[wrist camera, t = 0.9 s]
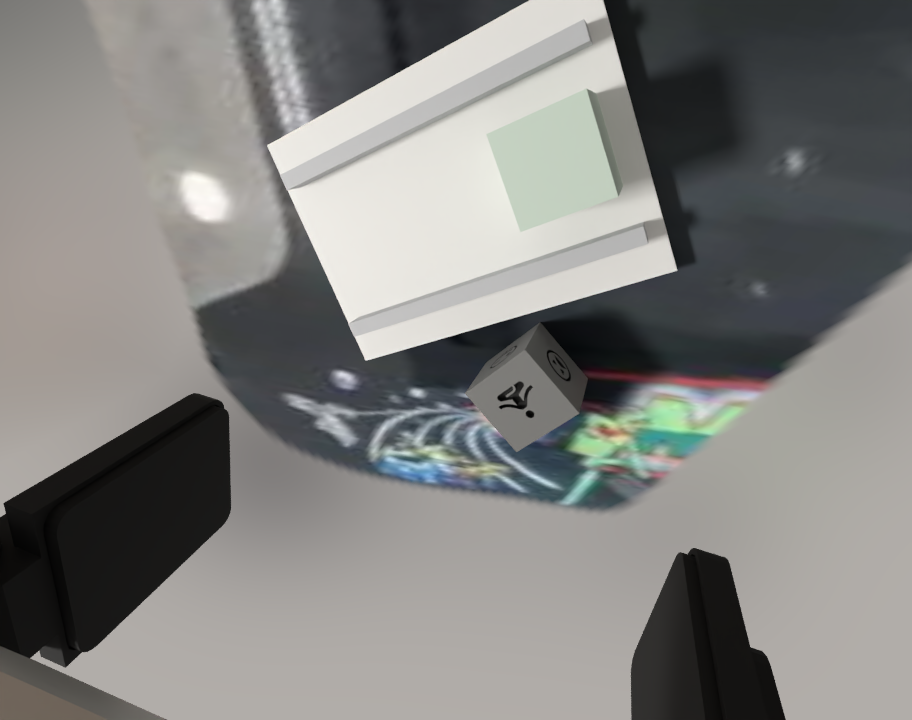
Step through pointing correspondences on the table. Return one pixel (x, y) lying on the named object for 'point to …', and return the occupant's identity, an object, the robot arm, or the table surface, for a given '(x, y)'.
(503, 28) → the rail board
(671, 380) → the table surface
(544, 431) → the dice cube
